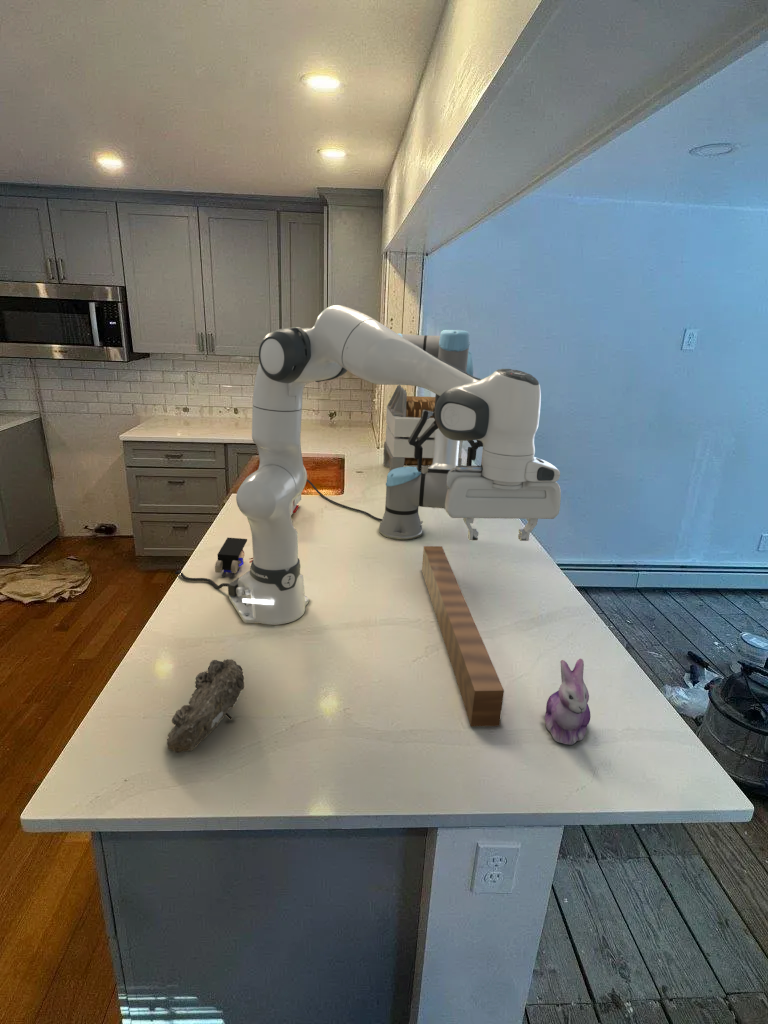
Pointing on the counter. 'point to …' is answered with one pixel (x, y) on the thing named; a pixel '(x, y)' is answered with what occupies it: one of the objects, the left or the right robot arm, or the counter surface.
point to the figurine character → (230, 556)
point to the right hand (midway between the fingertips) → (443, 471)
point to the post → (462, 641)
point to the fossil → (206, 705)
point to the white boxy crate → (408, 430)
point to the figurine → (569, 706)
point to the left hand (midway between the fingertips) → (497, 539)
